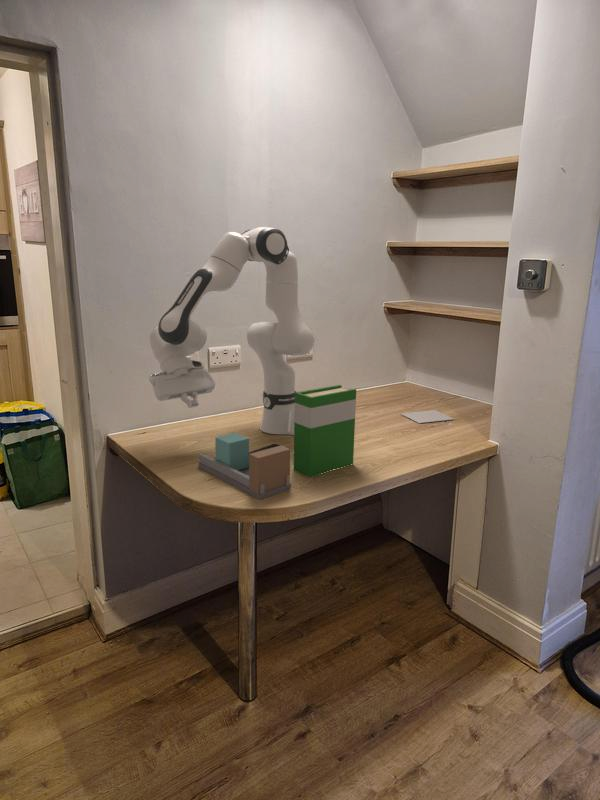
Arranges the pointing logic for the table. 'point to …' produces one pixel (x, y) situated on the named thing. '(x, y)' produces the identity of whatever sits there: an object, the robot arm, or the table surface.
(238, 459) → the block
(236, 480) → the keeper track
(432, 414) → the paper stack
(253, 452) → the phone
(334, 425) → the hardback book
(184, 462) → the table surface
